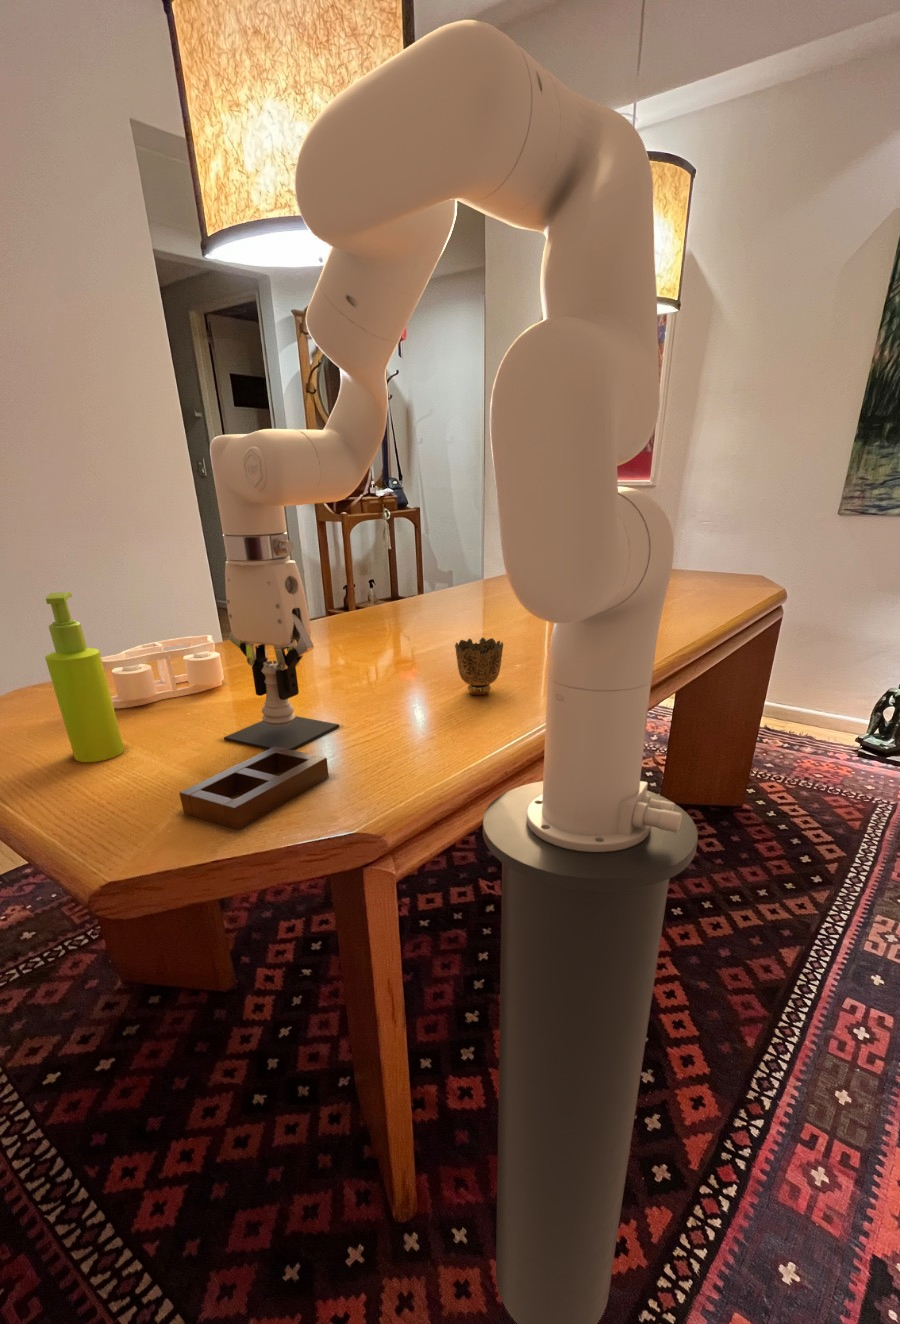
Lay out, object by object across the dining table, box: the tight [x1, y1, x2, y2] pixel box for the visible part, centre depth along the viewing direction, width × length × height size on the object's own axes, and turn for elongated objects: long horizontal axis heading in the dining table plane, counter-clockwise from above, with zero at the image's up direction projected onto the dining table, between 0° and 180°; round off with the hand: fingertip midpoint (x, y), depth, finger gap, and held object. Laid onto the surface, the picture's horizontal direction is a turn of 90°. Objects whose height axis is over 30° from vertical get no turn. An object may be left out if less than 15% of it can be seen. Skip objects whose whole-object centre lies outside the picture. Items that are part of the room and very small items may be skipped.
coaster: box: [223, 715, 340, 751], centre depth 92 cm, size 11×11×1 cm
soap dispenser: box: [44, 591, 125, 763], centre depth 83 cm, size 6×7×20 cm
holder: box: [179, 747, 330, 831], centre depth 75 cm, size 8×14×2 cm, turn 151°
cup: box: [454, 637, 504, 696], centre depth 105 cm, size 8×7×8 cm
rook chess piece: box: [261, 659, 296, 725], centre depth 90 cm, size 4×4×8 cm
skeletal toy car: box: [101, 634, 225, 709], centre depth 109 cm, size 20×11×7 cm, turn 131°
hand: (277, 693), depth 90 cm, fingers closed on rook chess piece, 3 cm apart
